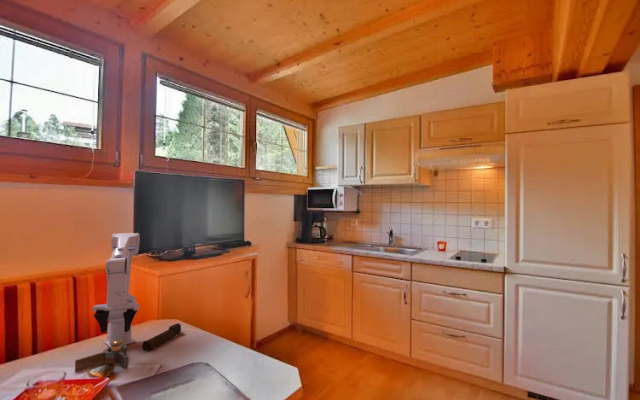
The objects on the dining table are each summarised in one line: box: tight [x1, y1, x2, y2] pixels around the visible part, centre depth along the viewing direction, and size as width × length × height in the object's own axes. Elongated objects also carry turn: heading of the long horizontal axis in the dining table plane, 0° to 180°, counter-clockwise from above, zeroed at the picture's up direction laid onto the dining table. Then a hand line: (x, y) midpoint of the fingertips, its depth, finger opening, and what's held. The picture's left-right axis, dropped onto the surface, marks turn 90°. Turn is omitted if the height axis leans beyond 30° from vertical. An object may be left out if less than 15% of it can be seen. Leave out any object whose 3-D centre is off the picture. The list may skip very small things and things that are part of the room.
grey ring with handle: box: [102, 345, 129, 370], centre depth 103 cm, size 14×6×4 cm, turn 50°
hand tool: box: [141, 322, 182, 352], centre depth 121 cm, size 19×4×5 cm, turn 164°
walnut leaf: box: [74, 350, 128, 373], centre depth 103 cm, size 6×14×4 cm, turn 141°
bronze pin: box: [110, 339, 123, 352], centre depth 105 cm, size 4×4×6 cm
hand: (115, 331), depth 106 cm, fingers open, 7 cm apart
